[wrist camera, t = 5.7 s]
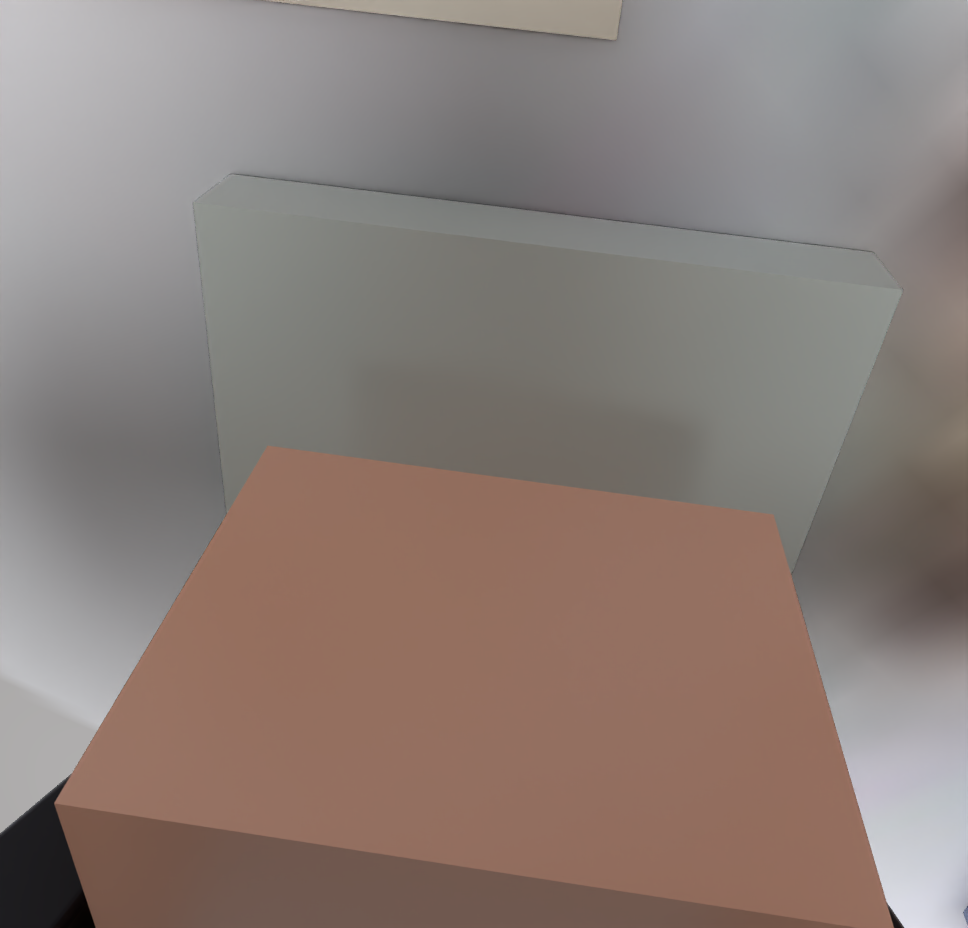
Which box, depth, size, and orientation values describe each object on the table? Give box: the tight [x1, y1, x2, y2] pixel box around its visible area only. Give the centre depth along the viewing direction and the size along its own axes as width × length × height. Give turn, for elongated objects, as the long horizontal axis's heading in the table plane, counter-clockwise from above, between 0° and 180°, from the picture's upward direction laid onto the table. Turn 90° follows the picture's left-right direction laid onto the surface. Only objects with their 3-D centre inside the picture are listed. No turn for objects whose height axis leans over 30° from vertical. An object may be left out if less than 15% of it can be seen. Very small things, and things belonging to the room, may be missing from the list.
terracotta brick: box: [54, 446, 894, 928], centre depth 8 cm, size 5×5×4 cm
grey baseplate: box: [193, 174, 903, 575], centre depth 12 cm, size 8×8×1 cm
